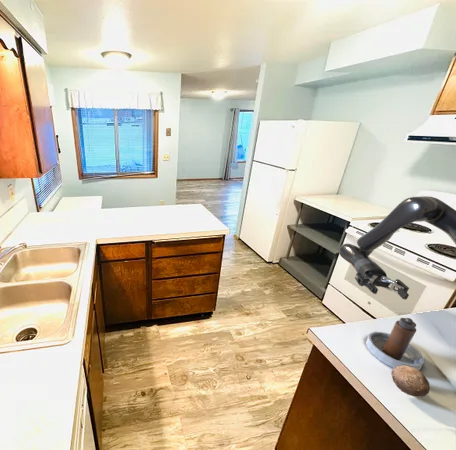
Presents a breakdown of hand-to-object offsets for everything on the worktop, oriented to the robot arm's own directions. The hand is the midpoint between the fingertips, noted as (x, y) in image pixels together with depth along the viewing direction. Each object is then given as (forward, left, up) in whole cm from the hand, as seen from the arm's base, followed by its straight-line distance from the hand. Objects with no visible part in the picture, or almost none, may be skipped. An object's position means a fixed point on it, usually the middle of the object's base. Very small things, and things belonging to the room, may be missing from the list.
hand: (390, 294), depth 83 cm
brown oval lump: (+2, +23, -16) cm, 28 cm away
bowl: (0, +11, -16) cm, 20 cm away
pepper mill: (0, +11, -16) cm, 19 cm away
